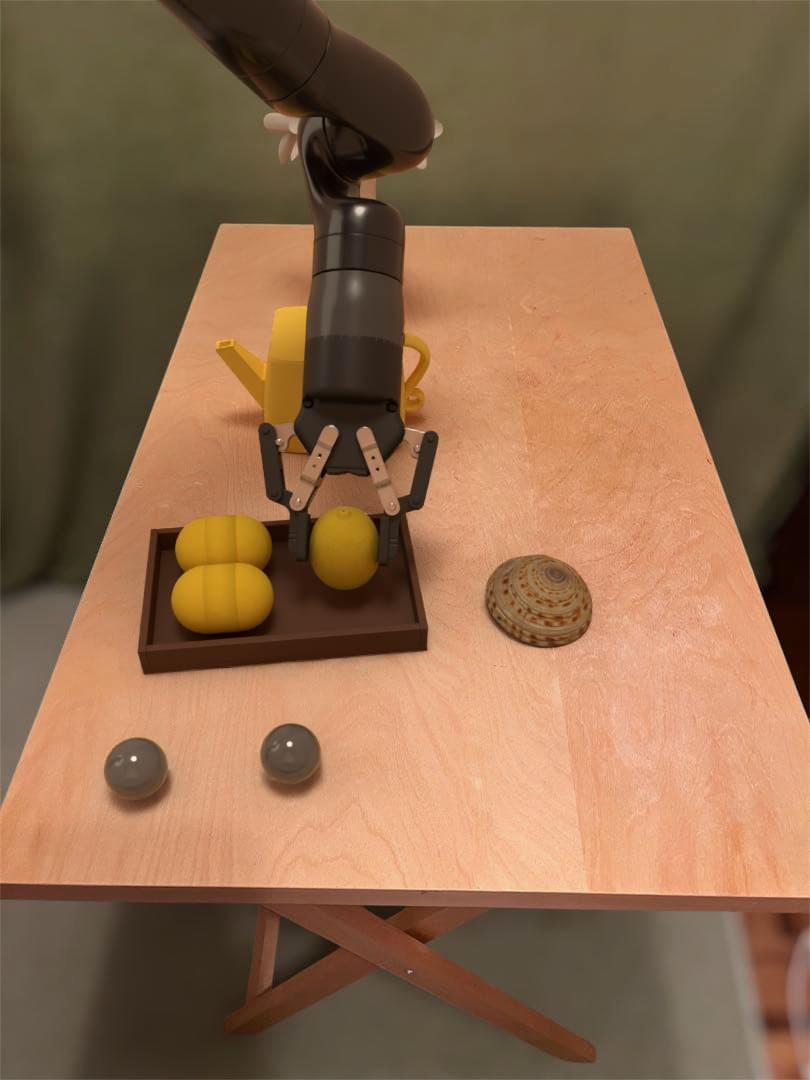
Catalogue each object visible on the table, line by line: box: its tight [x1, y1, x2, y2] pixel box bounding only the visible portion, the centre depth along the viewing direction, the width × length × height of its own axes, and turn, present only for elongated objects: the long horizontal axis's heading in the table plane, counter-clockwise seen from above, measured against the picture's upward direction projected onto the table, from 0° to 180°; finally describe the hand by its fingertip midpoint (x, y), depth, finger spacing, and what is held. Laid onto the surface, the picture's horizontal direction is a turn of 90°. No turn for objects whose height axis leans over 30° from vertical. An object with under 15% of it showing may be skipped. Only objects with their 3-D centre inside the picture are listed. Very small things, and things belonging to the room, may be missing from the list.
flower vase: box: [263, 112, 444, 285], centre depth 99 cm, size 13×18×25 cm
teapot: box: [215, 305, 431, 454], centre depth 87 cm, size 20×12×12 cm, turn 92°
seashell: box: [485, 553, 593, 647], centre depth 73 cm, size 8×6×8 cm
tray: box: [137, 512, 429, 675], centre depth 72 cm, size 21×13×3 cm, turn 97°
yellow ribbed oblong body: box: [171, 563, 274, 634], centre depth 69 cm, size 8×5×5 cm
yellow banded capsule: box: [175, 514, 272, 572], centre depth 73 cm, size 8×5×5 cm
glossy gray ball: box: [103, 736, 169, 801], centre depth 59 cm, size 4×4×4 cm
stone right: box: [259, 722, 322, 786], centre depth 60 cm, size 4×4×4 cm
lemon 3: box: [309, 505, 379, 590], centre depth 71 cm, size 6×6×8 cm
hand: (343, 563), depth 69 cm, fingers closed on lemon 3, 5 cm apart
